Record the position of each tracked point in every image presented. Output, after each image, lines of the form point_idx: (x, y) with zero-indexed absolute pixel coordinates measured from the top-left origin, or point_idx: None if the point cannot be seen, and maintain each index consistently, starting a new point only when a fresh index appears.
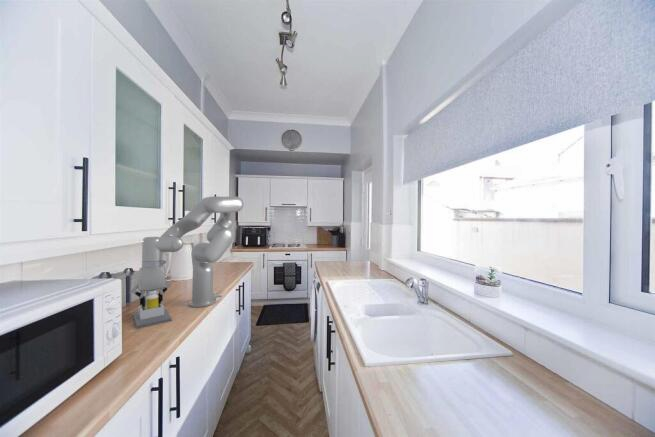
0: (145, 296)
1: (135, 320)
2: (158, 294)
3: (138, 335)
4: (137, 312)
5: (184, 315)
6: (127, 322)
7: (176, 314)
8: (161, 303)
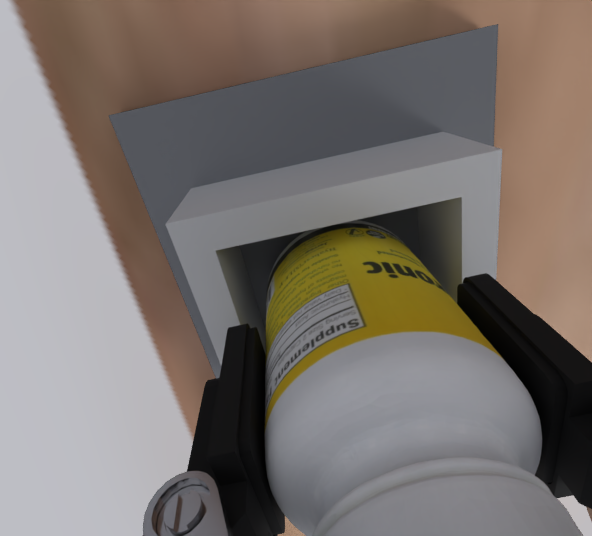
0: (293, 522)
1: (217, 376)
2: (551, 419)
3: (285, 533)
4: (165, 123)
5: (586, 351)
6: (147, 325)
7: (542, 301)
8: (490, 241)
